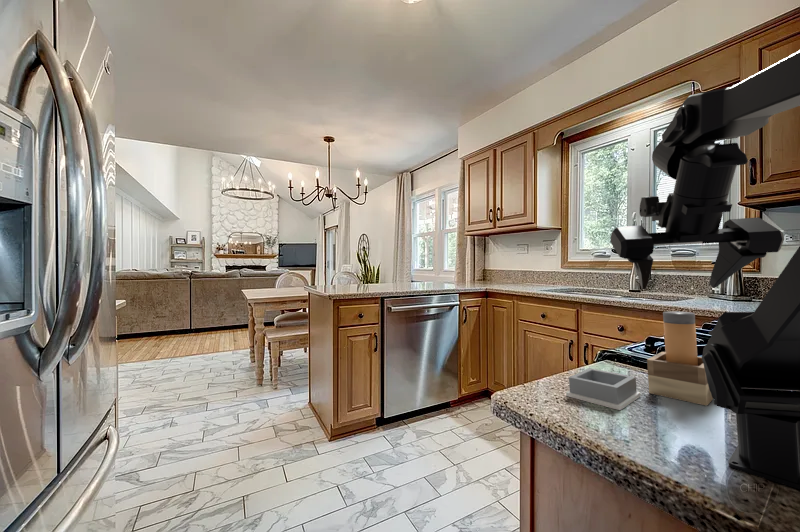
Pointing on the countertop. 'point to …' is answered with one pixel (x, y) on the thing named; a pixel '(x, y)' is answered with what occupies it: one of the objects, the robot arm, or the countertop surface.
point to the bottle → (680, 337)
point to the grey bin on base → (603, 388)
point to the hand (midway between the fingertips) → (676, 286)
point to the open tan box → (678, 380)
